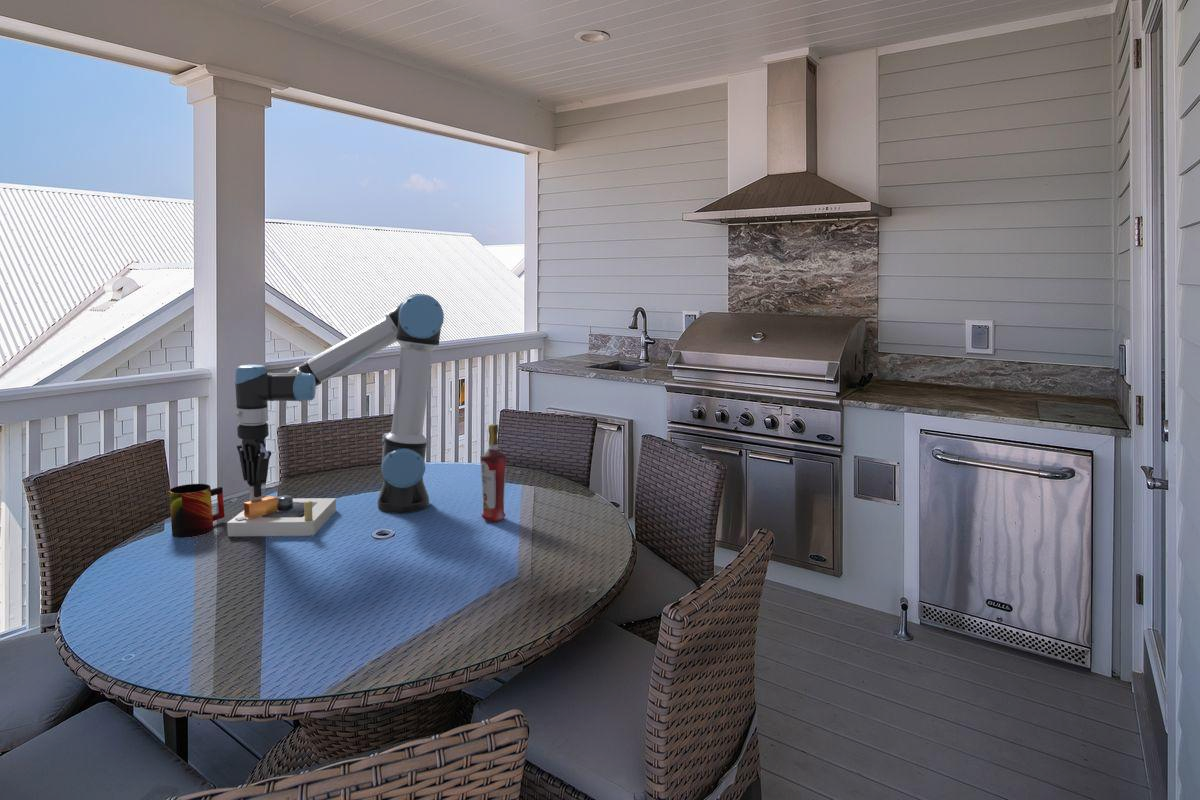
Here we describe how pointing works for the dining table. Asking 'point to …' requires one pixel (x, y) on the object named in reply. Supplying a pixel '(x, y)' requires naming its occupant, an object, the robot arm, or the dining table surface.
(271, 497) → the dial
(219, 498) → the mug
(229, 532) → the housing
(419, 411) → the robot arm
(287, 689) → the dining table surface
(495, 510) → the liquor
